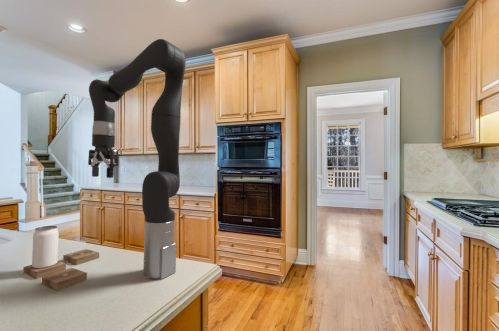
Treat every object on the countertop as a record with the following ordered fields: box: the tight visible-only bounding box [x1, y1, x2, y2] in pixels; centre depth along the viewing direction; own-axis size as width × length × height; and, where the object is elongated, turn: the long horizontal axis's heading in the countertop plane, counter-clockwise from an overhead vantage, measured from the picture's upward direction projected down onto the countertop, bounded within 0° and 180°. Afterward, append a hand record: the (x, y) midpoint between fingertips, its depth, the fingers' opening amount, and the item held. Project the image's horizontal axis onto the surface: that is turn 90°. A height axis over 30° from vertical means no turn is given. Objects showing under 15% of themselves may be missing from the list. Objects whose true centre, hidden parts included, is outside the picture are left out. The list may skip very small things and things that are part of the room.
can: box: [31, 225, 60, 268], centre depth 82 cm, size 6×6×12 cm
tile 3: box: [62, 248, 100, 266], centre depth 93 cm, size 8×8×2 cm
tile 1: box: [41, 267, 88, 291], centre depth 75 cm, size 8×8×2 cm
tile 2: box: [22, 260, 67, 280], centre depth 82 cm, size 8×8×2 cm
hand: (102, 177), depth 96 cm, fingers open, 8 cm apart
